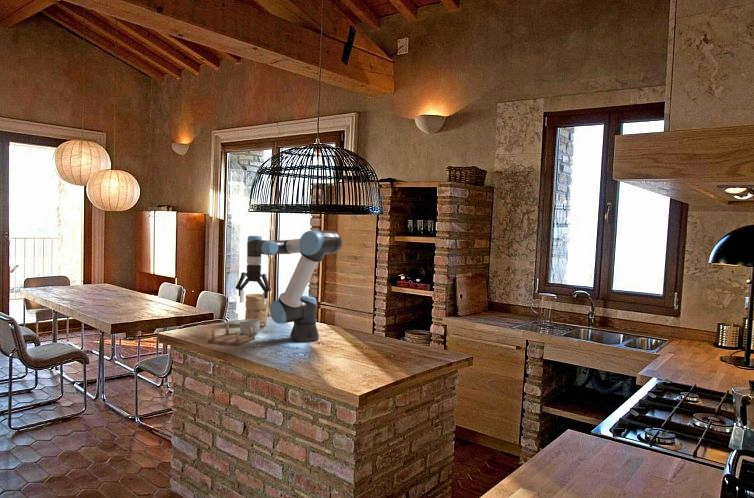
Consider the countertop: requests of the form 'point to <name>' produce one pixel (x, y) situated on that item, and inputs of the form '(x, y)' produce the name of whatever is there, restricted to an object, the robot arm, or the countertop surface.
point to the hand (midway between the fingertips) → (252, 303)
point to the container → (256, 308)
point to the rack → (231, 338)
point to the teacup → (251, 323)
